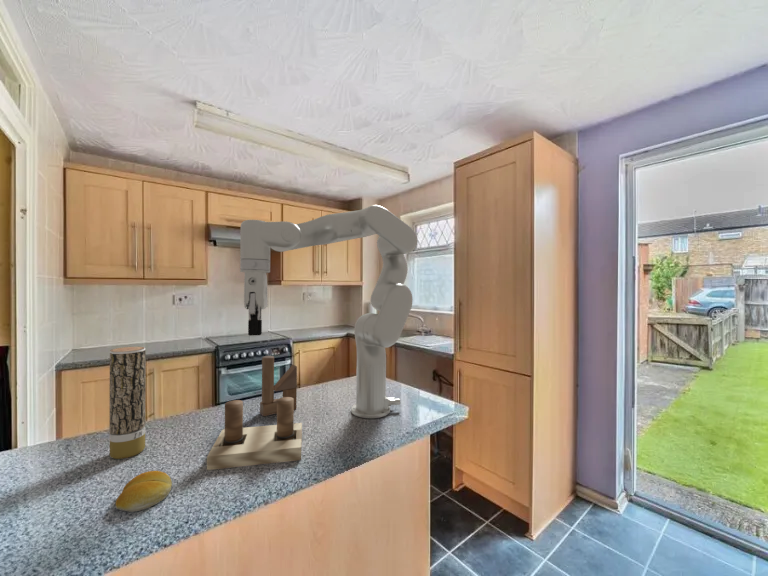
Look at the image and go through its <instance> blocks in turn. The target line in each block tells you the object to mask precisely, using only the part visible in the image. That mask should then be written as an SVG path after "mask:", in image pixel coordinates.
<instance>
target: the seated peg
mask: <svg viewBox="0 0 768 576" xmlns="http://www.w3.org/2000/svg"><path fill="white" fill-rule="evenodd" d="M277 399H278V400H277V414H276V425H277V434H276V437H277V441H284V440H293V436H294V431H293V428H294V419H295V418H294V416H295V415H294V411H295V410H294V398H292V397H283V396H282V397H279V398H277Z"/></svg>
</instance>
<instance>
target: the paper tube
mask: <svg viewBox="0 0 768 576" xmlns="http://www.w3.org/2000/svg"><path fill="white" fill-rule="evenodd" d="M146 353H147V350H146V346H125V347H124V346H122V347H115V348H113V349H110V350H109V431H108V432H109V435H108V436H109V438H108V439H109V456H110V458H112V459H114V460H123V459H129V458H132V457H134V456H136V455H139V454H140V453H142V452H143V451H144V450H145V448H146V380H147V379H146V374H147V372H146V369H147V368H146V366H147V365H146V359H147V357H146Z"/></svg>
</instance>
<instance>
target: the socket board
mask: <svg viewBox="0 0 768 576" xmlns="http://www.w3.org/2000/svg"><path fill="white" fill-rule="evenodd" d="M293 431H294V436H293V440H284V441H277V437H276V434H277V424H270V425H260V426H259V425H258V426H248V427H243V444H241V445H230V446H225V443H224V438H225V428H224V429H221V431H220V433H219V435H218V436H217V438H216V440H215V442H214V444H213V445H212V447H211V448H210V451H209V452H208V454H207V456H206V471H213V470H221V469H222V470H223V469H230V468H238V467H239V468H240V467H248V466H249V467H250V466H257V465H259V466H260V465H268V464H275V463H276V464H278V463H284V462H285V463H286V462H294V461H295V462H296V461H302V447H303V446H302V444H303V441H302V440H303V437H302V436H303V422H297V423H294V428H293Z"/></svg>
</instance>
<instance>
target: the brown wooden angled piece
mask: <svg viewBox="0 0 768 576" xmlns="http://www.w3.org/2000/svg"><path fill="white" fill-rule="evenodd" d="M297 372H298V366H296V365H295V364H292V365H291V366H290V367H289V368H287V370H286V371H285V373H284V374H283V375H282V376H281V377H280V378H279V380H277V382H276V383H275V356H274V355H265V356H262V358H261V401H260V403H259V413H260V415H261V416H262V417H267V416H271V415H277V400H278V399H279V398H276V399H275V396H274V395H275V392H280V391H282V397H292V398H294V411H295V410H297V383H298V382H297V379H298V378H297V377H298V376H297V375H298V373H297Z"/></svg>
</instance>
